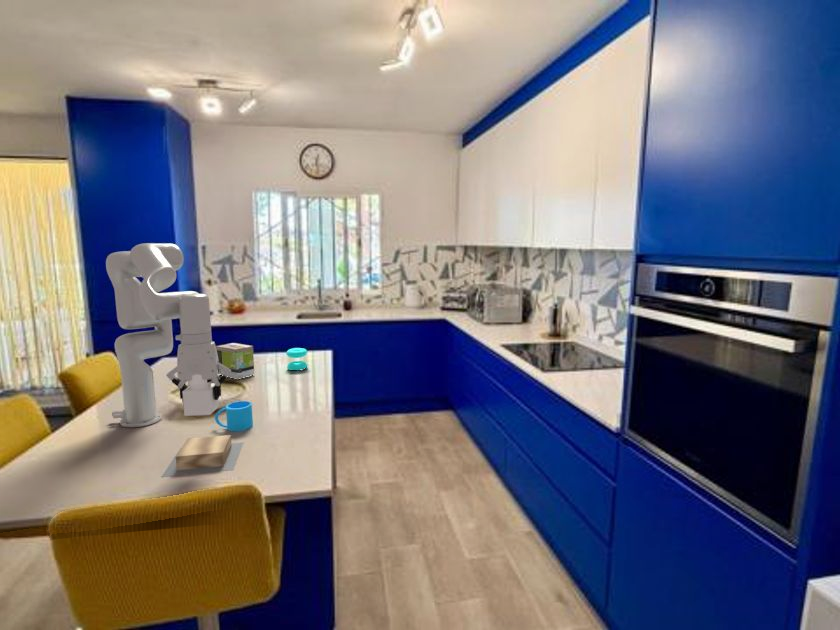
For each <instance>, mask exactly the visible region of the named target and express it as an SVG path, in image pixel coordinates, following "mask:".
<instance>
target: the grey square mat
mask: <svg viewBox="0 0 840 630" xmlns="http://www.w3.org/2000/svg"><path fill="white" fill-rule="evenodd" d="M231 445H232V448H231V450H230V452H229V455H228V457H227V460H226V462H225V464H224V466H217V467H207V468H197V469H187V470H177V466H176V455H177V454H178V452H179V451H180V449H181V448H182V447H180V448H179V450H178V451H177V452H176V454H175V456H174V457H173V458H172V460H171V462H170V463H169V464H168V466H167V467H166V469H165V471H164V472H163V474H162V475H161V478H166V477H178V476H187V475H189V476H190V475H198V474H208V473H215V472H216V473H217V472H224V471H225V472H227V471H234V470H235V468H236V465H237V461H238V460H239V456H240V453H241V451H242V448H243V445H244V442H234V443H233V442H231Z"/></svg>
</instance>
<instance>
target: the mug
mask: <svg viewBox="0 0 840 630" xmlns="http://www.w3.org/2000/svg"><path fill="white" fill-rule="evenodd" d="M224 411H225V414H226V415H225V416H226V424H224V423H222V422H221V421H220V420H219V415H220V414H221V413H222V412H224ZM214 416H215V417H214V419H215V423H216V424H217V425H218V426H219V427H221V428H226V430H228V431H231V432H242V431H245V430H249V429H251V428H254V420H253V419H254V418H253V405H252V402H251V401H249V400H248V401H247V400H237V401H234V402H230V403H228V404H226V406H225V407H223V408H221V409H219V410H218V411H216V413H215V415H214Z"/></svg>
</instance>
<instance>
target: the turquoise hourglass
mask: <svg viewBox="0 0 840 630" xmlns="http://www.w3.org/2000/svg"><path fill="white" fill-rule="evenodd" d="M285 354H286V356H287V357H289V358H291V359H300V358H303V357H305V356H307V355H308V351H307V349H306V348H301V347H293V348H290V349H288V350H287V351H286V353H285ZM308 365H309V364H308V363H307V362H306V361H303V360H294V361H291V362H290V361H289V363H288V364H287V366H286V367H287V370H288V369H289V371H290V370H300V369H304V368H306V367H307V366H308ZM307 368H308V367H307ZM307 368H306V369H307Z"/></svg>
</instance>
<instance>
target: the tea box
mask: <svg viewBox="0 0 840 630" xmlns="http://www.w3.org/2000/svg"><path fill="white" fill-rule="evenodd" d="M215 346H216V349H217V354H218V360H219V363H221V364H222V365H224V366H226V367H227V368H229V369H231V372H230V374H229V375H228V377H232V378H236V379H239V378H243V377H246V376H250V375H253V374H254V375H255V362H254V361H255V358H254V346H253V345H249V344H244V343H243V344H242V343H237V342H231V343H226V344H220V345H215ZM219 374H221V375H223V374H224V372H223V371H221V370H220V369H219Z"/></svg>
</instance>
